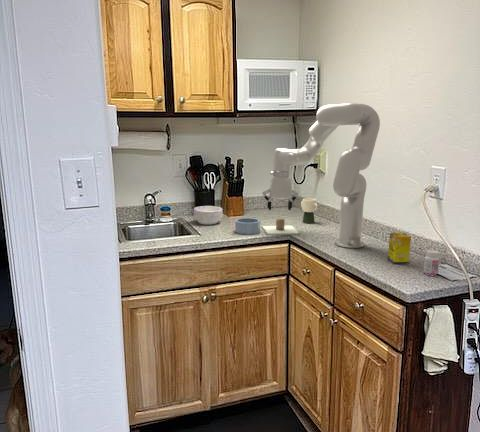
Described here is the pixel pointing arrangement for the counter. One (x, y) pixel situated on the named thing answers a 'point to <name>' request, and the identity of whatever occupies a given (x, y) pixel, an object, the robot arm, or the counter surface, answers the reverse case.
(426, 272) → the pill bottle
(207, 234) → the counter surface
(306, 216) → the character mug
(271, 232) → the lid
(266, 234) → the mat
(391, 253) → the supplement box
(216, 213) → the pale pink bowl
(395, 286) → the counter surface
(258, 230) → the bowl
